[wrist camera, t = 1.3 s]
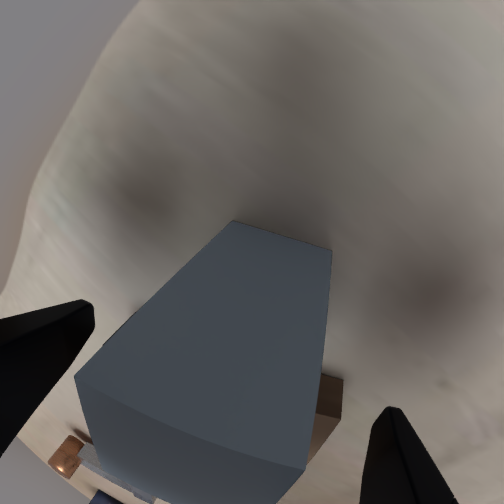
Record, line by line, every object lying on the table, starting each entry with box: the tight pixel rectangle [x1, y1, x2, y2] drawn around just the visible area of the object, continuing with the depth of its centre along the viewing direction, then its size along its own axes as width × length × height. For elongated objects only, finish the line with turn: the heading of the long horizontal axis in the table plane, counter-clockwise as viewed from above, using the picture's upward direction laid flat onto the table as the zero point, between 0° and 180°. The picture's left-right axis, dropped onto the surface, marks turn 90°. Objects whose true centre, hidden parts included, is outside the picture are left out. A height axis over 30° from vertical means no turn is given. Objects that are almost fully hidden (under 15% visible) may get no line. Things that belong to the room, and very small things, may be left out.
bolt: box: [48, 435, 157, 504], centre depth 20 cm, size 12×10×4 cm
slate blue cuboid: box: [74, 221, 332, 504], centre depth 9 cm, size 4×4×9 cm
